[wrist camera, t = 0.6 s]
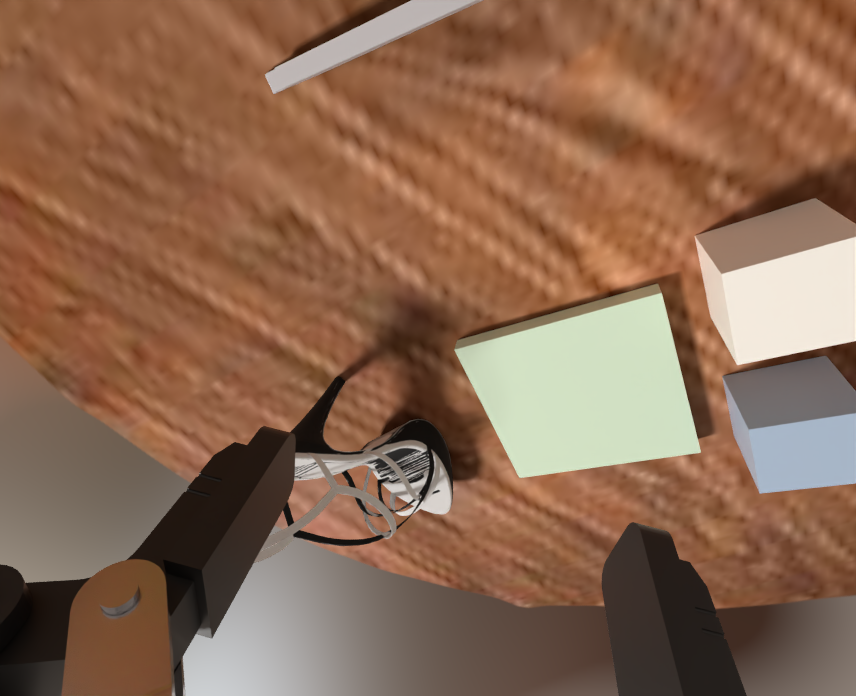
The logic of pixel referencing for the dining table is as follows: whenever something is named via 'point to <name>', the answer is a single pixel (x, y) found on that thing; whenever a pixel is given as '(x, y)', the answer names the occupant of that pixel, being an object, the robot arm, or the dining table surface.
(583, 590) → the dining table surface
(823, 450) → the brick top
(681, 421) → the base plate
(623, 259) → the dining table surface
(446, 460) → the sandal
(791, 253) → the white cube
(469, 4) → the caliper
